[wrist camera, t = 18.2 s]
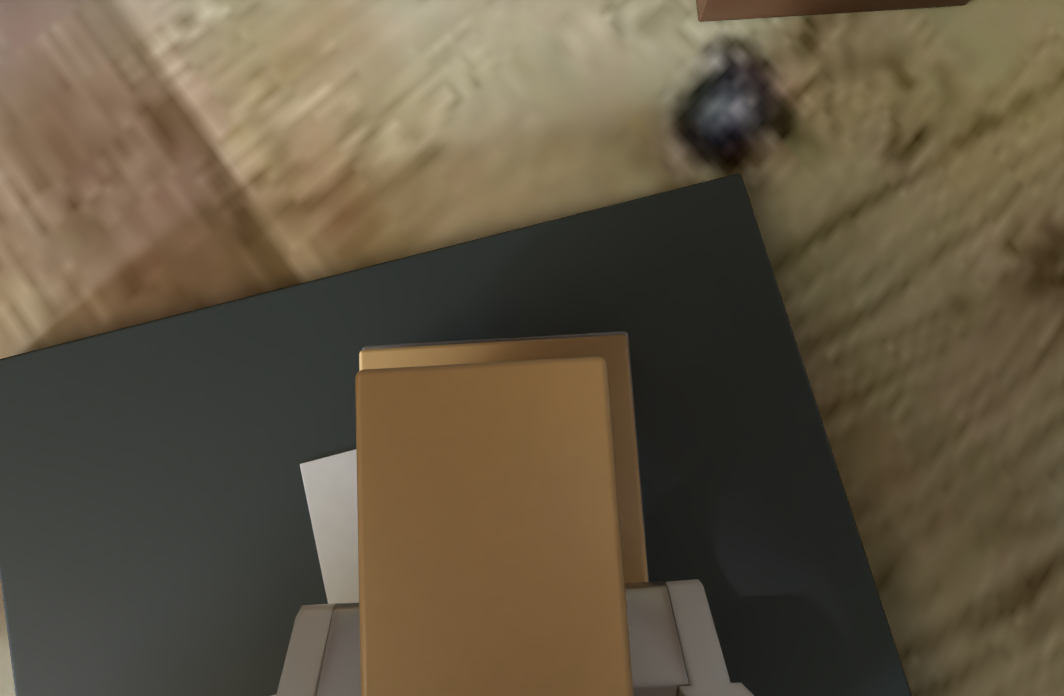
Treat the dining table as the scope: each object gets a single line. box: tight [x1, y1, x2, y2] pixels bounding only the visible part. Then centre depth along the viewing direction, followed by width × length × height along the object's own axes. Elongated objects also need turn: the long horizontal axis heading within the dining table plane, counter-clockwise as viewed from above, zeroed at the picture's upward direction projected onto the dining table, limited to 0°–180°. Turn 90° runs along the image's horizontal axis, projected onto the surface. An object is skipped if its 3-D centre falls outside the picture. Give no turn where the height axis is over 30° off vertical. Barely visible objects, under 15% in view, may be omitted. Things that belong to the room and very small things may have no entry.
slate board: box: [0, 174, 912, 696], centre depth 16 cm, size 18×16×1 cm
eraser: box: [355, 331, 649, 696], centre depth 12 cm, size 5×11×8 cm, turn 3°
